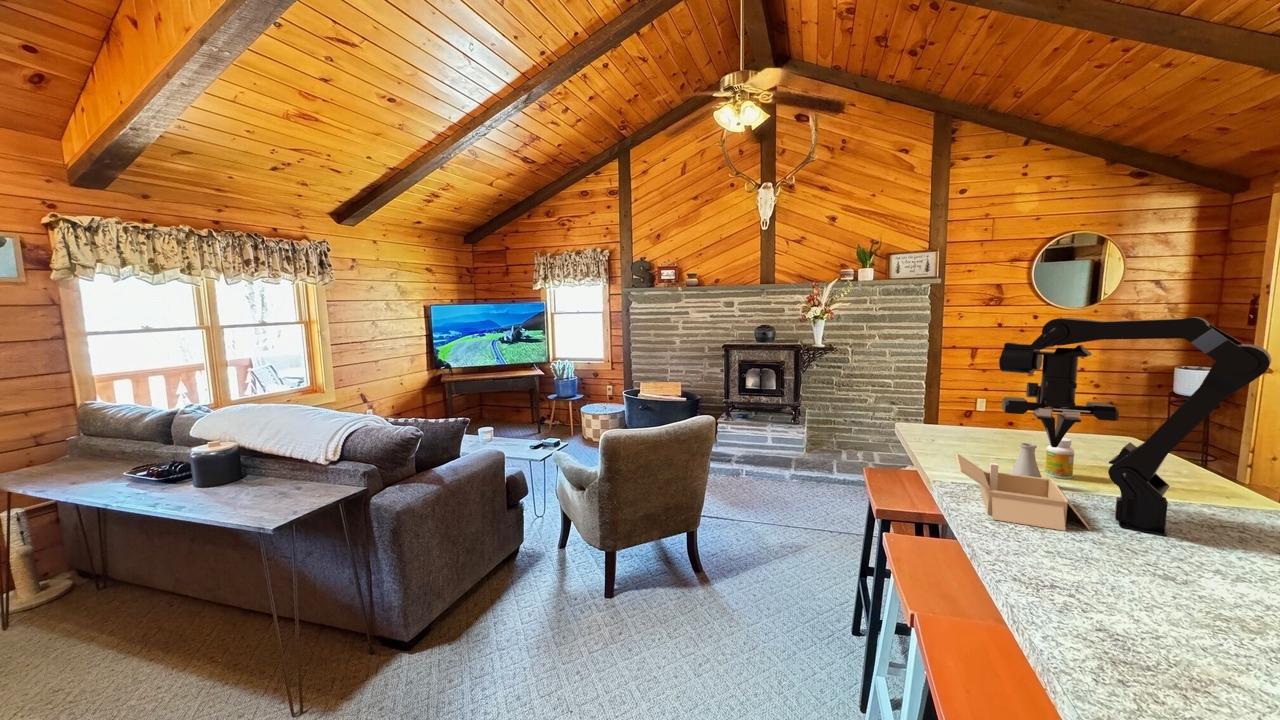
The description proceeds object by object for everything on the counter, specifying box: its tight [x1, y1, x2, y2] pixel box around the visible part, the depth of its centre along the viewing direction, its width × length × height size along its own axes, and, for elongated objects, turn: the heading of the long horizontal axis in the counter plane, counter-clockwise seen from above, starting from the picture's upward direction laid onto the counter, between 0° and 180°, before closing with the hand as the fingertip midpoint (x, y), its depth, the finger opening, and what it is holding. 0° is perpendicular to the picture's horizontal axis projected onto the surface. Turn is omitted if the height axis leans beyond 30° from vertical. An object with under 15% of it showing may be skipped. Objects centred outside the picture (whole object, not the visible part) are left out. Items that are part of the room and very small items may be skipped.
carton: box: [979, 470, 1091, 532], centre depth 107 cm, size 17×20×5 cm
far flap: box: [955, 452, 990, 490], centre depth 111 cm, size 1×14×6 cm
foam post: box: [989, 462, 999, 491], centre depth 115 cm, size 1×1×7 cm
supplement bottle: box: [1044, 436, 1075, 480], centre depth 126 cm, size 5×5×10 cm
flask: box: [1008, 442, 1043, 478], centre depth 121 cm, size 7×7×10 cm
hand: (1053, 446), depth 108 cm, fingers closed
